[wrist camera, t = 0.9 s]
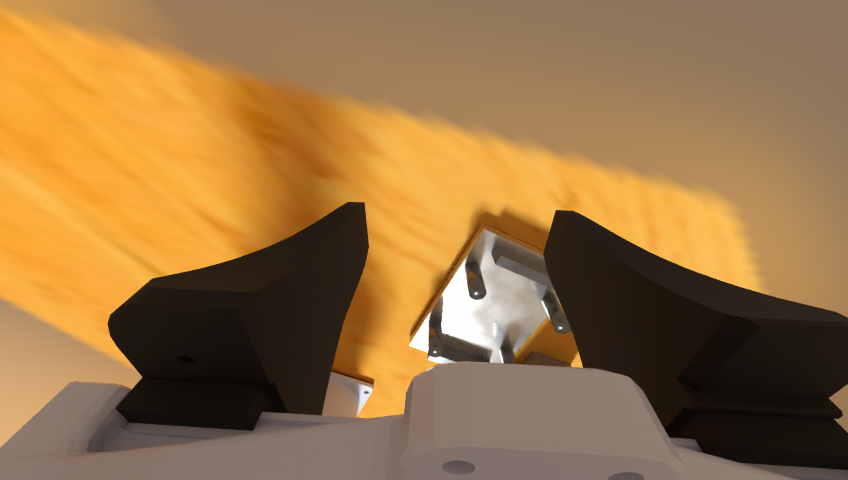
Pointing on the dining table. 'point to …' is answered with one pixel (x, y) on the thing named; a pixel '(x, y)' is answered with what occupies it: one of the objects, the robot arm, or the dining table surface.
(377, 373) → the dining table surface
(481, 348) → the pin tray
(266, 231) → the dining table surface
